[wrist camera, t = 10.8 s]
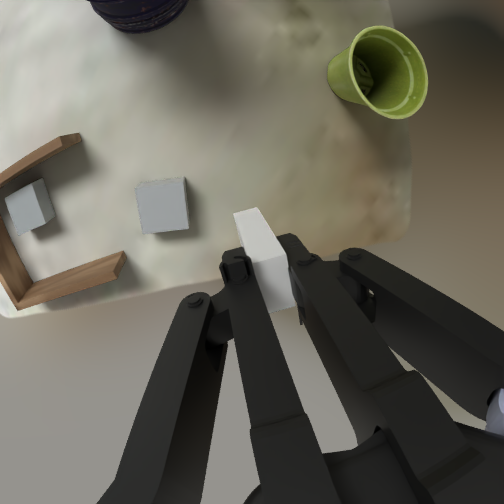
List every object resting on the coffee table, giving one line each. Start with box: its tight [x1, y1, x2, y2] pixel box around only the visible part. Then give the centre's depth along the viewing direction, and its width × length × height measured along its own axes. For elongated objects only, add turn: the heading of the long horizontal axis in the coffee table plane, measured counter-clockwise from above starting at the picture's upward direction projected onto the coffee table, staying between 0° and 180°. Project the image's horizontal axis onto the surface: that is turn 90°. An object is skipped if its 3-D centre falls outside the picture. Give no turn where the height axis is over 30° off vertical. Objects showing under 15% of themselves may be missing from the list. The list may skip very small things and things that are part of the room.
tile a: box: [4, 178, 56, 236], centre depth 26 cm, size 5×5×3 cm
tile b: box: [135, 177, 190, 234], centre depth 30 cm, size 5×5×3 cm
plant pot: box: [327, 26, 428, 119], centre depth 24 cm, size 9×9×9 cm
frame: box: [0, 133, 126, 311], centre depth 26 cm, size 16×17×5 cm
